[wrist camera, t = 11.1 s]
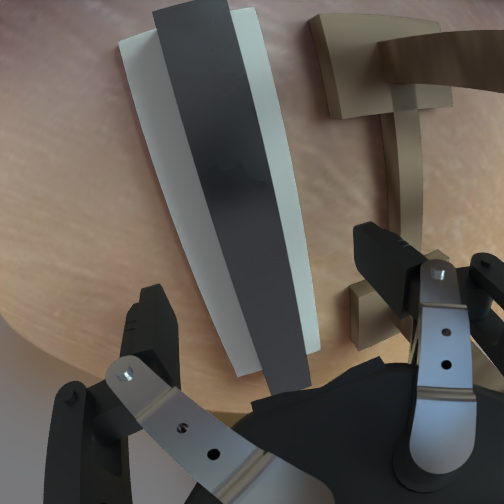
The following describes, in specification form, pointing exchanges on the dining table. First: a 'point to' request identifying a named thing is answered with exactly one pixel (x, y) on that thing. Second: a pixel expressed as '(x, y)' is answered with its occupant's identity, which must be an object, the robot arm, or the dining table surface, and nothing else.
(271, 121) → the mat
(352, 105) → the hook stand
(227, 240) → the rail
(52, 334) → the dining table surface
